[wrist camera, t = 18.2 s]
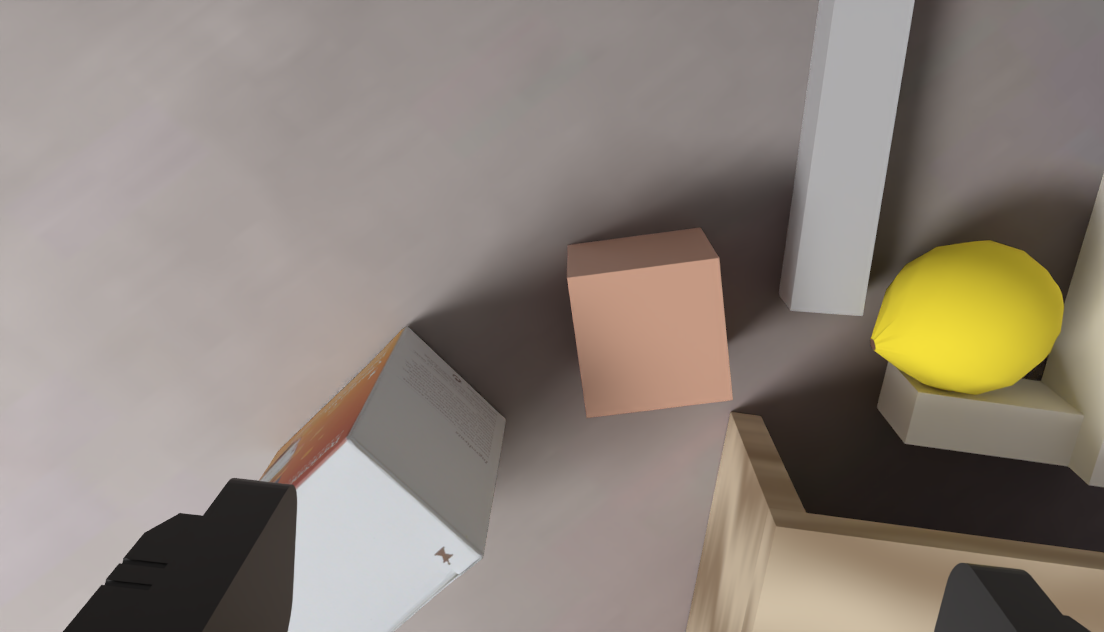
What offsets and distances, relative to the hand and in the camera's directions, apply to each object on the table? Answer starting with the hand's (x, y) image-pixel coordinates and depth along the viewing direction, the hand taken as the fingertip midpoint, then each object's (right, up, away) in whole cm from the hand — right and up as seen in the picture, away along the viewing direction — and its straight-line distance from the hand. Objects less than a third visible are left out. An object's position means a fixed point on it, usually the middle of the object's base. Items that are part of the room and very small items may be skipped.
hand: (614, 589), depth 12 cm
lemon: (+14, +4, +26) cm, 30 cm away
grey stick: (+10, +11, +24) cm, 28 cm away
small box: (-7, -1, +28) cm, 29 cm away
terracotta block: (+3, +4, +26) cm, 27 cm away
